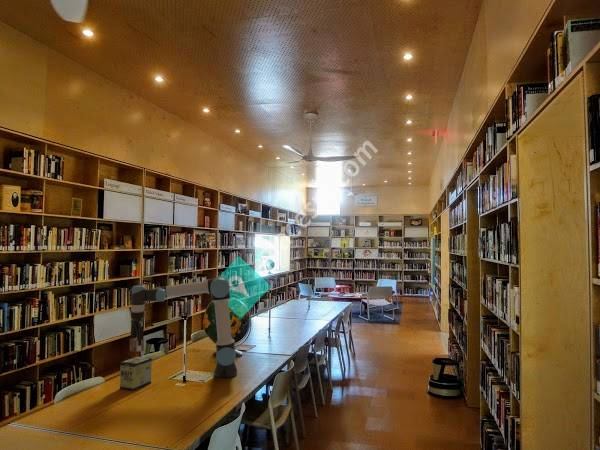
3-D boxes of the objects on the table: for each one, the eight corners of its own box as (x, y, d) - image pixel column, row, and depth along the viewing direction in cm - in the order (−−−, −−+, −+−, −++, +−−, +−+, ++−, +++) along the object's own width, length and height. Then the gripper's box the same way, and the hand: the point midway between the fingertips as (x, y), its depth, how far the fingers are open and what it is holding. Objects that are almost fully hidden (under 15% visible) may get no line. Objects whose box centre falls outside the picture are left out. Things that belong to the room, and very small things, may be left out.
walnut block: (143, 350, 248) (143, 338, 249) (133, 352, 244) (133, 340, 245) (139, 348, 253) (139, 337, 253) (129, 350, 249) (129, 338, 249)
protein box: (119, 389, 242) (119, 362, 243) (138, 381, 256) (138, 355, 257) (133, 391, 238) (134, 364, 239) (151, 383, 253) (152, 357, 254)
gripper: (150, 312, 246) (149, 351, 244) (137, 309, 259) (136, 346, 258) (138, 314, 240) (136, 354, 239) (125, 310, 254) (124, 348, 253)
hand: (136, 349), depth 249 cm, fingers closed on walnut block, 6 cm apart
